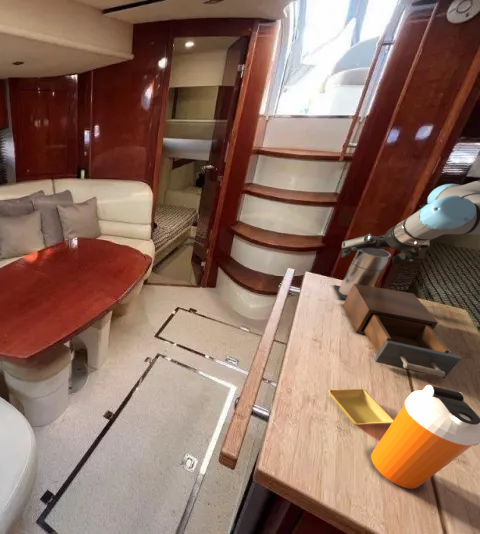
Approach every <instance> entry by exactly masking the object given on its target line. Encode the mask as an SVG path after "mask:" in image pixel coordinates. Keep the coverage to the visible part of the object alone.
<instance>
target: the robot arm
mask: <svg viewBox="0 0 480 534" xmlns="http://www.w3.org/2000/svg"><path fill="white" fill-rule="evenodd" d="M374 235H375V234H374V233H371V232H370V233H367V234H366V235H363V236H358V237H354V238H351V239H346V240H344V241H341V259H345V258H347V257H348V256H350V255H352V254H353V253H354V251H358V250H363V249H371V248H374V249H383V250H384V249H387V250H388V249H389V250H390V249H391V250H396V251H399V252H400V253H398V254H396V255H395V256H393V257H392V260H391V266H397V265H399V264H402V263H403V262H407V261H409V262H415V261H416V259H418V260H425V257H426V251H427V250H428V249H430V242H431V240H432V241H433V240H434V239H437V238H438V237H440V236H442V235H480V179H478V180H475V181H472V182H469V183H466V184H465V183H464V184H460V183H457V184H456V183H445V184H442V185H439V186H437V187H436V188H434V189H433V190H432V191H431V192H429V195H428V196H427V204H425V205H424V206H422V207H421V208H420V209H419V210H417V211H416V212H414V213H413V214H412V215H410V216H408V217H406V218H405V219H404V220H402V221H400V222H399V223H397V224H396V225H394V226H392V227H391V228H390V229H388V230H387V231H386V233H385V234H383V235H379V236H374ZM416 248H418V251H416V250H415V249H416Z"/></svg>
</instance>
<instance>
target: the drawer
mask: <svg viewBox="0 0 480 534" xmlns="http://www.w3.org/2000/svg"><path fill="white" fill-rule="evenodd" d="M364 332H365V334H366V335H365V334H364V335H365V336H366V338H367V340H368V342H369V344H370V346H371V348H372V349H373V351H374V353H375V357H374V358H373V360H374V362H375V363H378V364H382V365H386V366H392V367H395V368H398V369H404V370H407V371H411V372H414V373H415V372H416V373H420V374H423V375H428V376H432V377H437V378H441V379H446V378H447V376H448V375H449V374H450V373H451V371H453V369H454V368H455V367H456V366H457V365H458V363H459V362H460V361H461V360H462V358H461V357H460V356H459V355H458V354H454V353H450V352H451V351H450V349H449V348H448V347H447V346H446V344H445V343H444V342H443V340H442V339H441V338H440V337H439V335H438V334H437V333H436V332H435V330H434V329H432V328H431V327H430V326H429V324H425V323H420V322H415V321H410V320H405V319H400V318H394V317H389V316H384V315H379V314H374V313H373V314H372V316H371V318H370V319H369V321H368V323H367V325H366V326H365V328H364Z"/></svg>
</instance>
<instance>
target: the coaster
mask: <svg viewBox="0 0 480 534" xmlns="http://www.w3.org/2000/svg"><path fill="white" fill-rule="evenodd" d="M340 286H341V285H335V284H334V285H333V288H334V290H335V293H336V295H337V297H338V299H339V300H342V301H345V300H346V298H347V297H344V296H343V295H341V294H340V293H339V291H338V290H339V288H340Z"/></svg>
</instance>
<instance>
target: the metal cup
mask: <svg viewBox="0 0 480 534" xmlns="http://www.w3.org/2000/svg"><path fill="white" fill-rule="evenodd" d="M391 256H392V254H391V253H390V252H389V251H387V250H385V249H384V248H383V249H374V248H371V249H363V250H356V253H355V255H354V257H353V258H352V260H351V263H350V265H349V267H348V269H347V272H346V273H345V276H344V278H343V280H342V281H341V284H340V285H339V286H340V288H339V290H338V291H339V293H340V294H341V295H343V296H344V297H347V296H348V294H349V292H350V290H351V288H352V286H353V284H359V285H365V286H371V287H375V285H376V283H377V282H378V280H379V278H380V276H381V274H382V273H383V271H384V270H385V267H386V265H387V264H388V262H389V260H390V258H391Z"/></svg>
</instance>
